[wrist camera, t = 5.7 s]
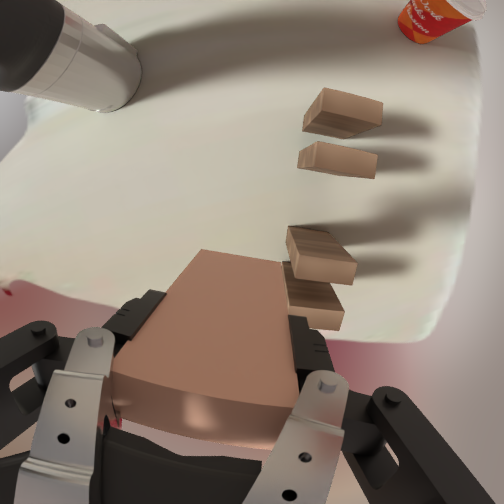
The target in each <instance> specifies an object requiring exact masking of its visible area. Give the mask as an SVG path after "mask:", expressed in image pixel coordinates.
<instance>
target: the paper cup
mask: <svg viewBox="0 0 504 504" xmlns="http://www.w3.org/2000/svg"><path fill="white" fill-rule="evenodd" d="M485 11H486V2H485V0H410V1H409V3H408V4H407V5H406V7H405V8H404V9H403V11H402V12H401V14H400V15H399V17H398V25H399V28H400V29H401V31H402V32H403V33H404V35H405V36H407V37H408V38H409V39H410V40H412V41H414V42H416V43H420V44H424V43H427V42H430V41H432V40H434V39H436V38H437V37H439V36H441V35H443V34H445V33H447V32H449V31H451V30H453V29H455V28H457V27H459V26H461V25H463V24H465V23H467V22H469V21H471V20H475V21H476V20H479V19H482V18H483V16H484V12H485Z"/></svg>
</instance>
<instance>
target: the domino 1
mask: <svg viewBox="0 0 504 504" xmlns="http://www.w3.org/2000/svg"><path fill="white" fill-rule="evenodd" d="M166 293H167V295H166V296H165V298H164V299H163V300H162V301H161V303H160V304H159V305H158V307H157V308H156V309H155V310H154V312H153V313H152V314H151V316H150V317H149V318H148V320H147V321H146V322H145V323H144V325H143V326H142V327H141V329H140V330H139V331H138V333H137V334H136V335H135V337H134V338H133V339H132V341H127V342H126V343H125V345H124V346H123V347H122V349H121V350H120V351H119V353H118V354H117V355H116V357H115V358H114V362H113V369H112V372H113V380H112V388H111V396H112V400H113V405H114V409H115V410H117V411H120V414H121V418H123V419H126V420H129V421H132V422H135V423H138V424H141V425H145V426H148V427H151V428H154V429H158V430H162V431H165V432H169V433H173V434H178V435H182V436H186V437H190V438H195V439H200V440H205V441H211V442H215V443H221V444H228V445H234V446H241V447H249V448H258V449H269V450H272V449H273V447H274V445H275V444H276V442H277V440H278V438H279V436H280V433H281V431H282V429H283V427H284V425H285V423H286V421H287V419H288V417H289V415H290V414H291V413H292V411H293V408H294V406H295V404H296V402H297V399H298V397H299V387H298V380H297V373H295V367H294V359H293V351H292V343H291V335H290V328H289V320H288V315H289V314H288V307H287V300H286V294H285V287H284V281H283V274H282V268H281V262H275V261H269V260H263V259H257V258H251V257H245V256H239V255H233V254H227V253H221V252H215V251H209V250H203V249H201V250H200V251H199V253H198V254H197V255H196V256H195V257H194V258H193V260H192V261H191V262H190V263H189V264H188V266H187V267H186V268H185V269H184V271H183V272H182V273H181V274H180V275H179V277H178V278H177V279H176V280H175V281H174V283H173V284H172V285H171V286H170V288H169V289H168V290H167V291H166Z"/></svg>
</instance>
